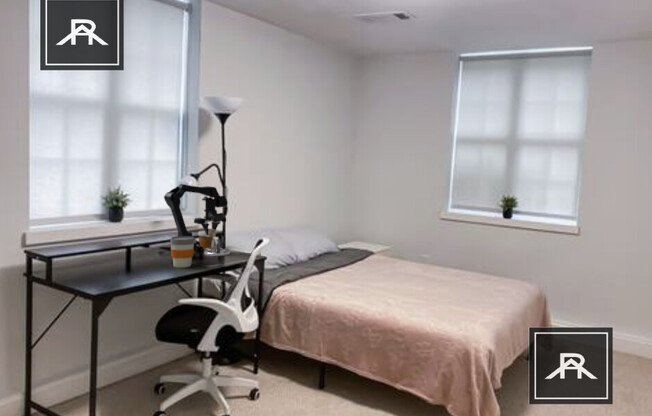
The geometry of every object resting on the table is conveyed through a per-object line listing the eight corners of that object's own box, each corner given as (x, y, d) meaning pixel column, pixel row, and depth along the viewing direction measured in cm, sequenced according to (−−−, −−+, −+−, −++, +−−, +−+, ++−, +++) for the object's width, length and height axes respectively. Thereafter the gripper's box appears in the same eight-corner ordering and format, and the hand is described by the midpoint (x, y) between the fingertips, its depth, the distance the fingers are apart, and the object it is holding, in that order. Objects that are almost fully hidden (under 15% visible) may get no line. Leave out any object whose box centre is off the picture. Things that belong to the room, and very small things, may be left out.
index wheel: (214, 257, 301) (214, 240, 300) (199, 253, 311) (199, 237, 310) (234, 254, 312) (235, 238, 311) (220, 250, 322) (220, 235, 321)
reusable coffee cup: (164, 266, 280) (164, 238, 278) (181, 262, 291) (181, 235, 289) (182, 269, 274) (183, 240, 272) (199, 265, 285) (199, 237, 283)
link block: (209, 237, 306) (209, 230, 306) (205, 236, 309) (205, 229, 309) (215, 236, 309) (215, 229, 309) (211, 235, 312) (211, 228, 312)
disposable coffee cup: (194, 251, 324) (194, 231, 323) (204, 248, 333) (204, 229, 332) (207, 252, 320) (207, 233, 319) (216, 250, 329) (216, 231, 328)
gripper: (204, 210, 295) (204, 237, 297) (231, 208, 309) (231, 234, 310) (193, 208, 303) (193, 235, 305) (220, 206, 316) (220, 232, 318)
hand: (210, 234), depth 309 cm, fingers closed on link block, 4 cm apart
